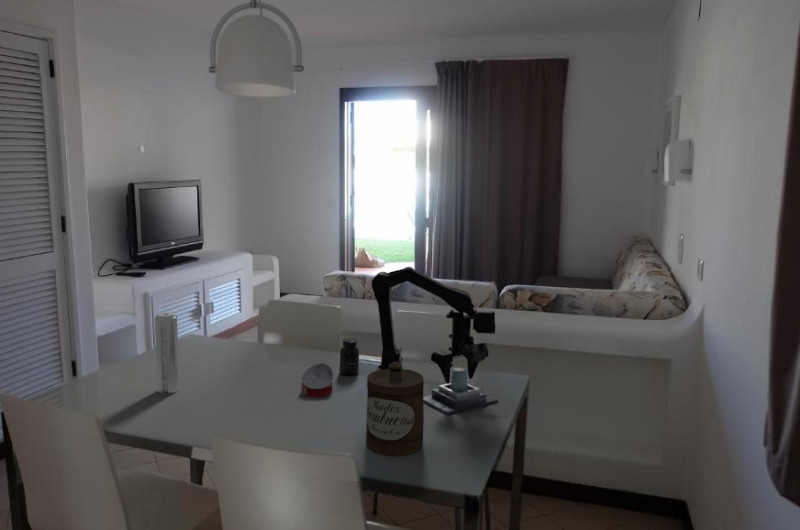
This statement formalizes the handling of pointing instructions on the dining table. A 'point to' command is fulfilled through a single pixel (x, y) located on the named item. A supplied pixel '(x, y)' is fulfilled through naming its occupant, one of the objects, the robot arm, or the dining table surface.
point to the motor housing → (457, 399)
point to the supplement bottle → (349, 358)
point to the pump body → (459, 379)
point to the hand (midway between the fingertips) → (459, 381)
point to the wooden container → (395, 411)
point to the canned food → (317, 381)
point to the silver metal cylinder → (167, 353)
